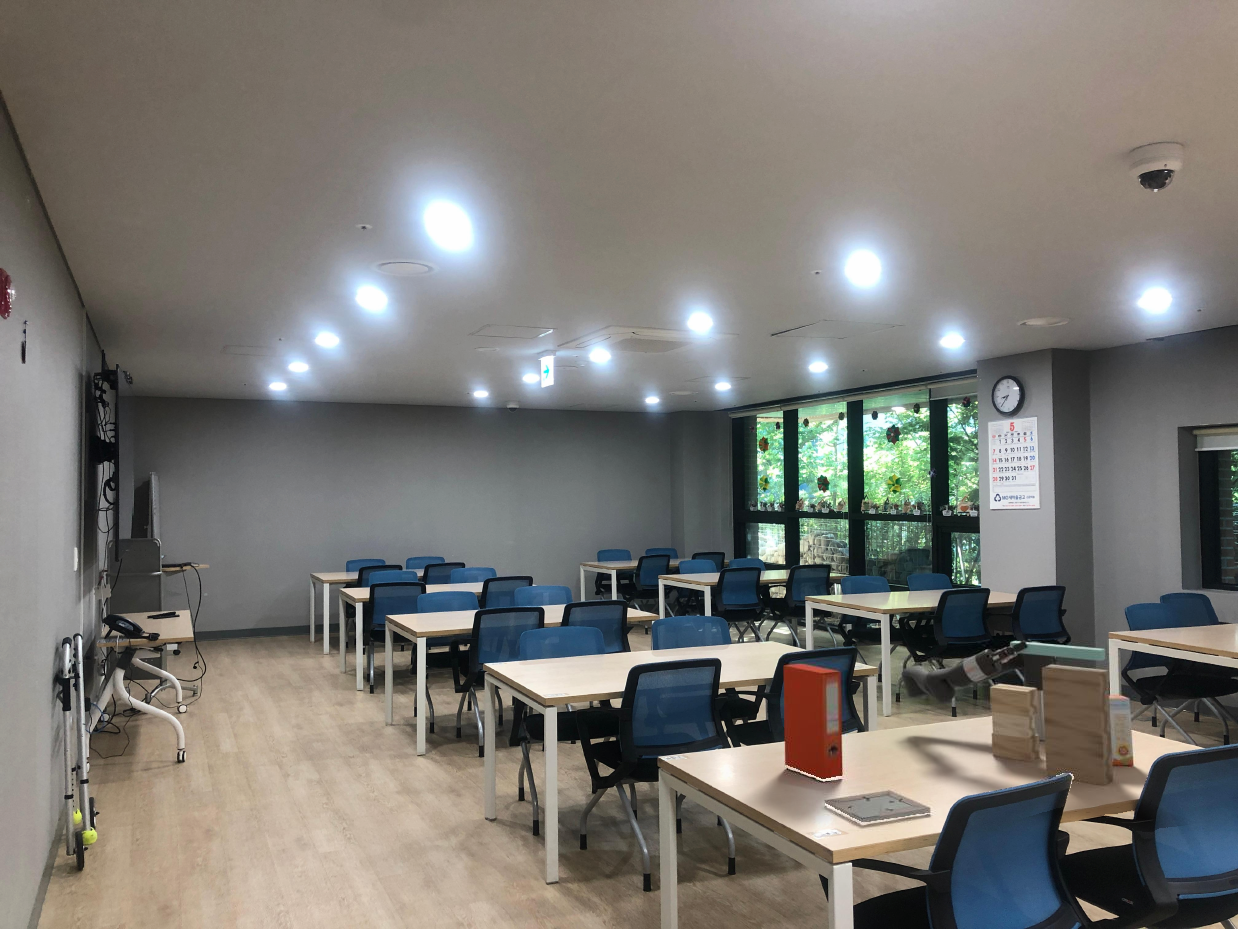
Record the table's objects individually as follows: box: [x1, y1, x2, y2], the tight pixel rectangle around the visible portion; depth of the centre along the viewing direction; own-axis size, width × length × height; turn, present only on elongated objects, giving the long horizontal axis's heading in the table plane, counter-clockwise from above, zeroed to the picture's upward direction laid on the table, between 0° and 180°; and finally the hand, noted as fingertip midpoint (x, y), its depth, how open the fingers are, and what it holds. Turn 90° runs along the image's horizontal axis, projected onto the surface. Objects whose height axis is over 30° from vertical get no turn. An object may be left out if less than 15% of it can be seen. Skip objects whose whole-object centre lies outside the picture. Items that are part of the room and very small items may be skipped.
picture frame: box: [824, 790, 932, 822], centre depth 235 cm, size 16×2×22 cm
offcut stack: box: [989, 683, 1041, 763], centre depth 288 cm, size 8×12×22 cm
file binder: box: [783, 663, 844, 779], centre depth 271 cm, size 8×17×32 cm, turn 29°
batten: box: [1009, 640, 1106, 662], centre depth 269 cm, size 4×26×3 cm, turn 45°
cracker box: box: [1109, 694, 1134, 766], centre depth 278 cm, size 14×6×21 cm, turn 84°
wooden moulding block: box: [1042, 664, 1114, 787], centre depth 264 cm, size 8×16×32 cm, turn 45°
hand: (1028, 643), depth 275 cm, fingers closed on batten, 4 cm apart
